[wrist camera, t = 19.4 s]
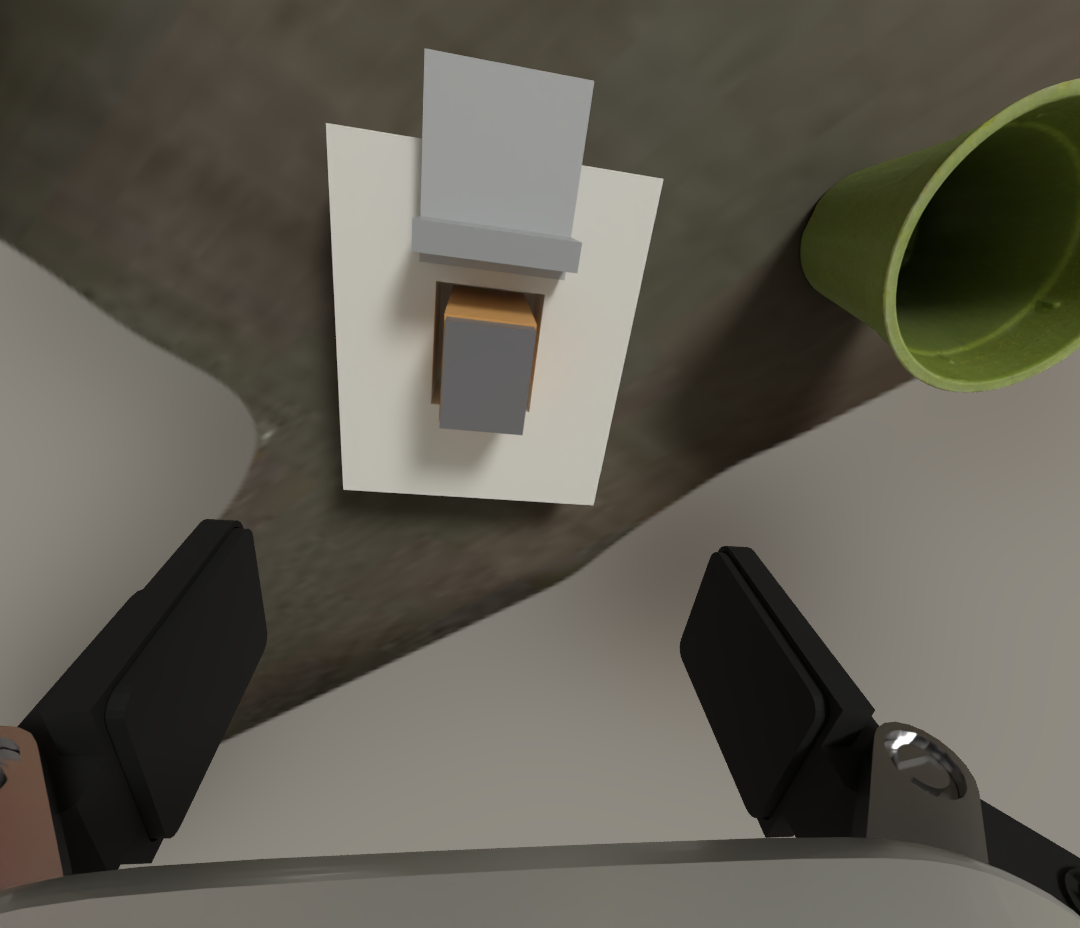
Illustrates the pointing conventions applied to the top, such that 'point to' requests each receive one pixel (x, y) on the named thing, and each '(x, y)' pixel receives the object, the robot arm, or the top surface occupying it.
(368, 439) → the socket
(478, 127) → the grey block
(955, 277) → the plant pot
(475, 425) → the tan boxy piece
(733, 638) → the robot arm
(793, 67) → the top surface
